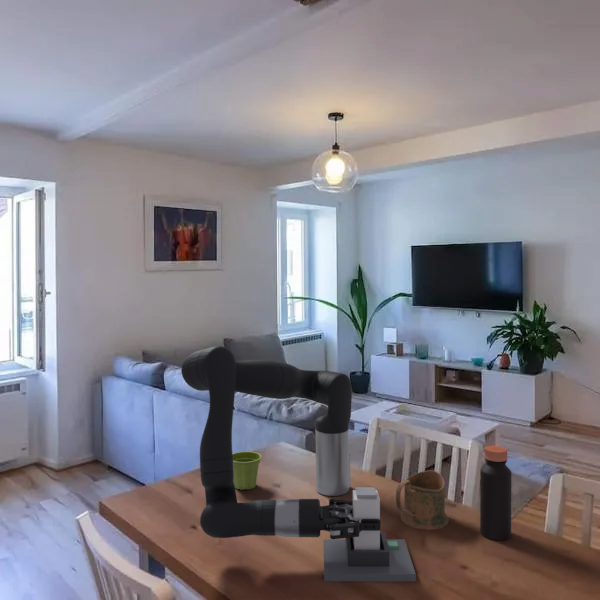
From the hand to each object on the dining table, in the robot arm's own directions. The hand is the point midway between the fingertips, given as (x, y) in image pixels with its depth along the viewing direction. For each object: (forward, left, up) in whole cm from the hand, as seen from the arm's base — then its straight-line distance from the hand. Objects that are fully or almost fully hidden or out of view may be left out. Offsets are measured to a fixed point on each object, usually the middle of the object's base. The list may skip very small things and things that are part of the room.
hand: (378, 518), depth 115 cm
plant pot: (-15, -51, -10) cm, 54 cm away
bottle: (-27, +16, -10) cm, 32 cm away
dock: (+1, -2, -10) cm, 10 cm away
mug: (-22, -1, -10) cm, 24 cm away
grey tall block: (+2, -2, -7) cm, 7 cm away
